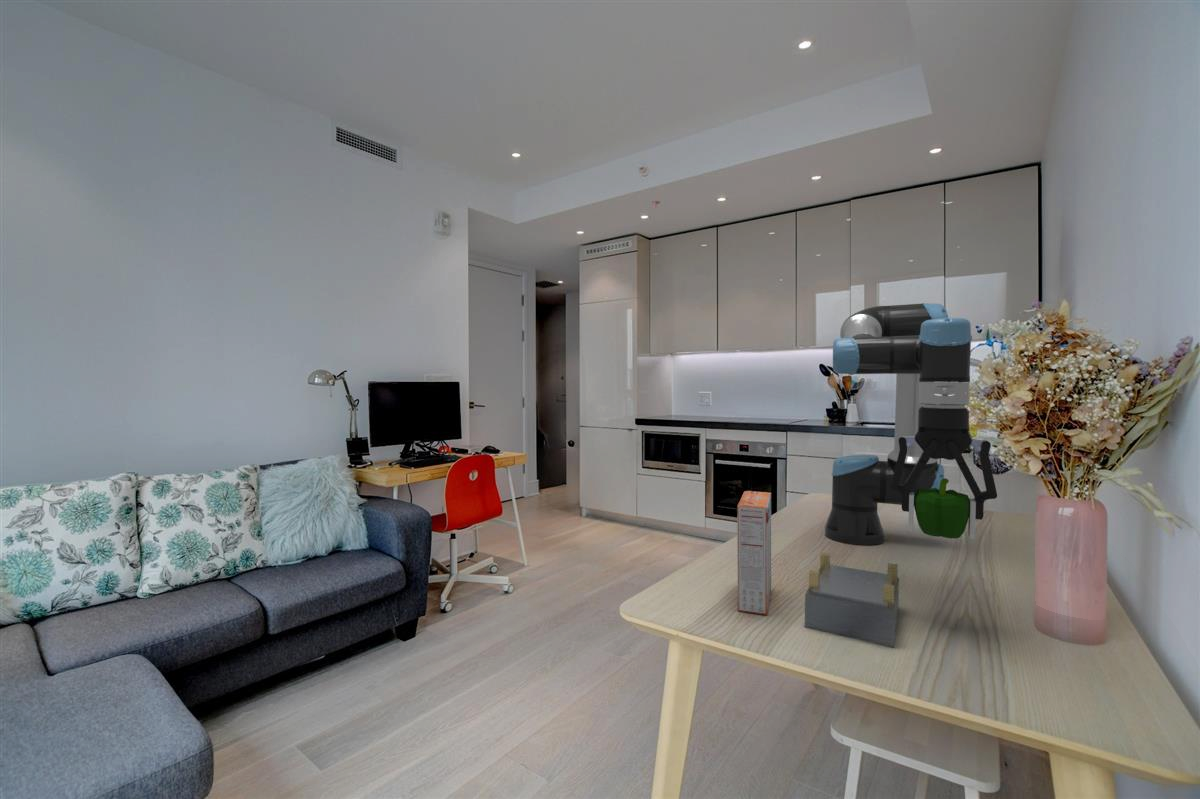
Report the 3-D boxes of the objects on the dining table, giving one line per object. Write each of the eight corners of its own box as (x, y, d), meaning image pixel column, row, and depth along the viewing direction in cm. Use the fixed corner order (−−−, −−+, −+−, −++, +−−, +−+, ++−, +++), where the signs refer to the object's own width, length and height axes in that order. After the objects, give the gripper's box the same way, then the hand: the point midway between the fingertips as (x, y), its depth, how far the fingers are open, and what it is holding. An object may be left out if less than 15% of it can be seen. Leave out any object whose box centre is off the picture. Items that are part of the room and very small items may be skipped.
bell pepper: (950, 545, 88) (952, 486, 88) (904, 532, 96) (905, 477, 96) (980, 538, 92) (982, 481, 92) (933, 526, 99) (935, 474, 99)
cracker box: (742, 585, 114) (743, 489, 114) (771, 589, 112) (772, 491, 111) (734, 611, 101) (735, 503, 100) (767, 616, 99) (769, 506, 98)
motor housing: (824, 588, 113) (824, 545, 112) (899, 602, 105) (900, 557, 105) (804, 626, 95) (805, 576, 95) (893, 647, 87) (894, 592, 87)
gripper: (874, 406, 95) (872, 529, 96) (1023, 409, 85) (1019, 548, 85) (877, 404, 102) (874, 520, 103) (1015, 407, 91) (1011, 536, 92)
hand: (940, 533), depth 94 cm, fingers closed on bell pepper, 8 cm apart
